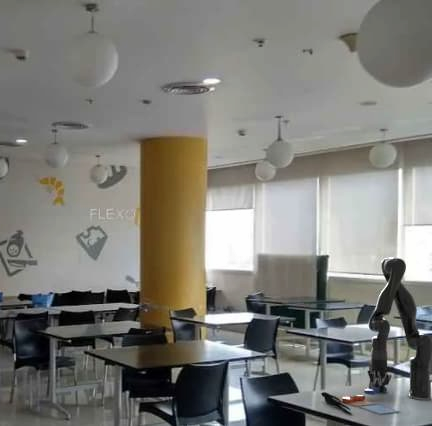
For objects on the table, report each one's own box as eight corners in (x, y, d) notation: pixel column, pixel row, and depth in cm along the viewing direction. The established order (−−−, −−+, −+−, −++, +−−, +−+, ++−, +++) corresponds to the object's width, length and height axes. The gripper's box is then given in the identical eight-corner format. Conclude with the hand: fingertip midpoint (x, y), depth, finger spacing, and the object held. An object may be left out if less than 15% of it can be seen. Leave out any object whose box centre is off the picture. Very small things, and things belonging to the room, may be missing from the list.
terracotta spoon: (360, 398, 311) (360, 393, 311) (368, 401, 306) (368, 396, 306) (339, 400, 305) (339, 395, 305) (347, 403, 300) (347, 398, 300)
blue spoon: (381, 390, 317) (381, 385, 317) (390, 392, 312) (390, 387, 312) (362, 392, 311) (362, 387, 311) (370, 395, 306) (370, 389, 306)
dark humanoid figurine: (363, 399, 282) (334, 383, 306) (346, 405, 280) (319, 388, 305) (367, 416, 282) (338, 398, 307) (350, 422, 281) (322, 404, 305)
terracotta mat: (352, 397, 314) (352, 396, 314) (374, 404, 302) (374, 403, 302) (335, 399, 309) (335, 398, 309) (356, 406, 297) (356, 405, 297)
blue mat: (378, 405, 300) (378, 404, 300) (398, 412, 289) (398, 411, 289) (359, 407, 295) (359, 406, 295) (380, 414, 284) (380, 413, 284)
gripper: (395, 360, 308) (396, 394, 307) (373, 355, 321) (373, 388, 320) (385, 360, 305) (385, 396, 304) (363, 356, 318) (363, 389, 317)
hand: (379, 392), depth 312 cm, fingers closed on blue spoon, 2 cm apart
